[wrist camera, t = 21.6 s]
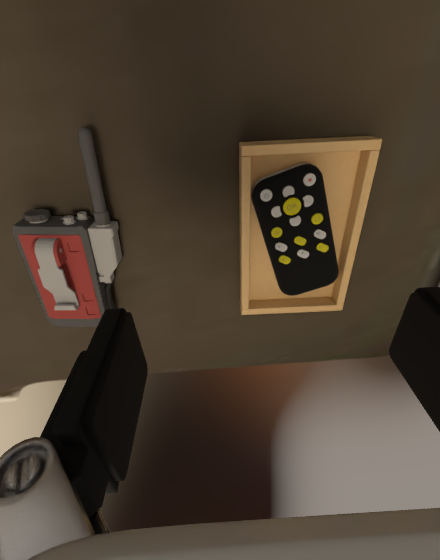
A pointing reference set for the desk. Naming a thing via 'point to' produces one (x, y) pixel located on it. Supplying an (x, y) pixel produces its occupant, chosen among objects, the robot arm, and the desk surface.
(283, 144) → the tray
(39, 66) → the desk surface
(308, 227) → the remote control
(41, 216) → the walkie-talkie
